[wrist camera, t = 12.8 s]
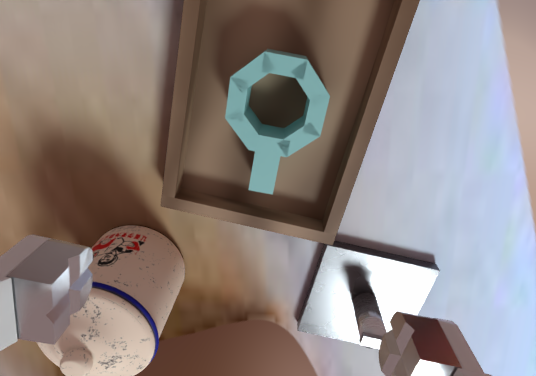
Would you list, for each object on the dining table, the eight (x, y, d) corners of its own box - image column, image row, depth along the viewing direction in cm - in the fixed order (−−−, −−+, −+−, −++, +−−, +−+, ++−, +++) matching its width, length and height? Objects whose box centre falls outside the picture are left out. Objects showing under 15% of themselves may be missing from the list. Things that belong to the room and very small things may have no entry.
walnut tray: (170, 192, 31) (160, 206, 29) (205, -89, 23) (195, -102, 20) (329, 229, 31) (332, 245, 29) (420, -34, 23) (434, -40, 21)
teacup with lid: (150, 204, 32) (77, 295, 21) (207, 280, 35) (169, 394, 24) (50, 257, 35) (-57, 359, 24) (111, 322, 38) (39, 440, 27)
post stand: (297, 322, 36) (298, 373, 31) (326, 239, 32) (332, 280, 27) (394, 344, 36) (411, 397, 31) (435, 264, 32) (463, 309, 27)
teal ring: (240, 43, 25) (234, 45, 22) (332, 61, 25) (337, 65, 23) (223, 169, 29) (216, 184, 26) (303, 184, 29) (304, 200, 26)
